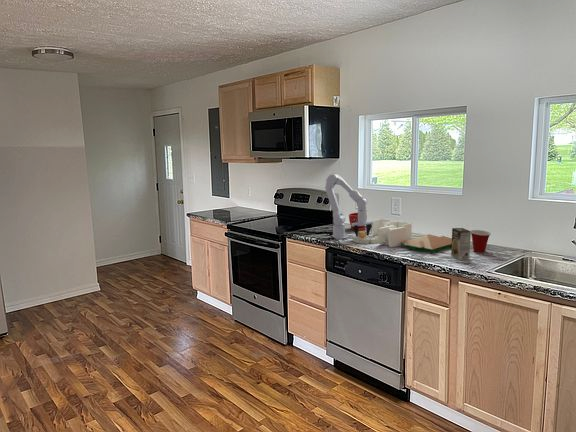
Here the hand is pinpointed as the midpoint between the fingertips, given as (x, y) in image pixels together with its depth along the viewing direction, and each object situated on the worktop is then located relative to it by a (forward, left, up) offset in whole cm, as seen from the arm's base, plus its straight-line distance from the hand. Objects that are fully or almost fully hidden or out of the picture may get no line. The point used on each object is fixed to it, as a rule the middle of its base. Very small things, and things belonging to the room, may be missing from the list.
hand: (362, 236), depth 284 cm
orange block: (0, 0, -2) cm, 2 cm away
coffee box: (+61, +33, -2) cm, 69 cm away
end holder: (+9, +4, -2) cm, 10 cm away
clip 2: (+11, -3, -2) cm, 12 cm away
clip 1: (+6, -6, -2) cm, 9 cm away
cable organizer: (+22, +11, -2) cm, 25 cm away
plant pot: (-31, +9, -2) cm, 32 cm away
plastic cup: (+53, +51, -2) cm, 73 cm away
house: (+33, +30, -3) cm, 45 cm away
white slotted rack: (+2, +20, -3) cm, 20 cm away
